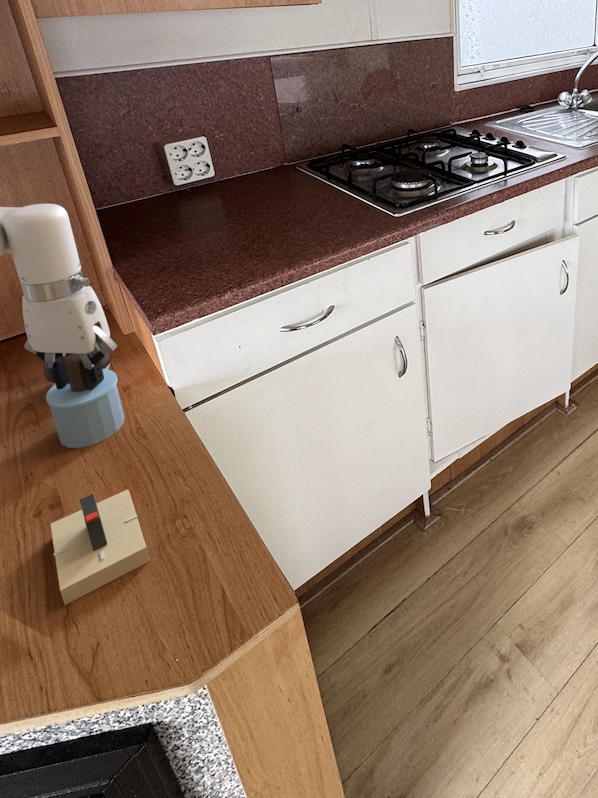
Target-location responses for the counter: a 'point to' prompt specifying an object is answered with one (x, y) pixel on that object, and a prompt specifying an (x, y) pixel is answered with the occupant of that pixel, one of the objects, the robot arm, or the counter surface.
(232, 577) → the counter surface
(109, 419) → the pot
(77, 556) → the beige switch box
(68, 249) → the robot arm
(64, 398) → the pot lid
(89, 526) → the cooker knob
